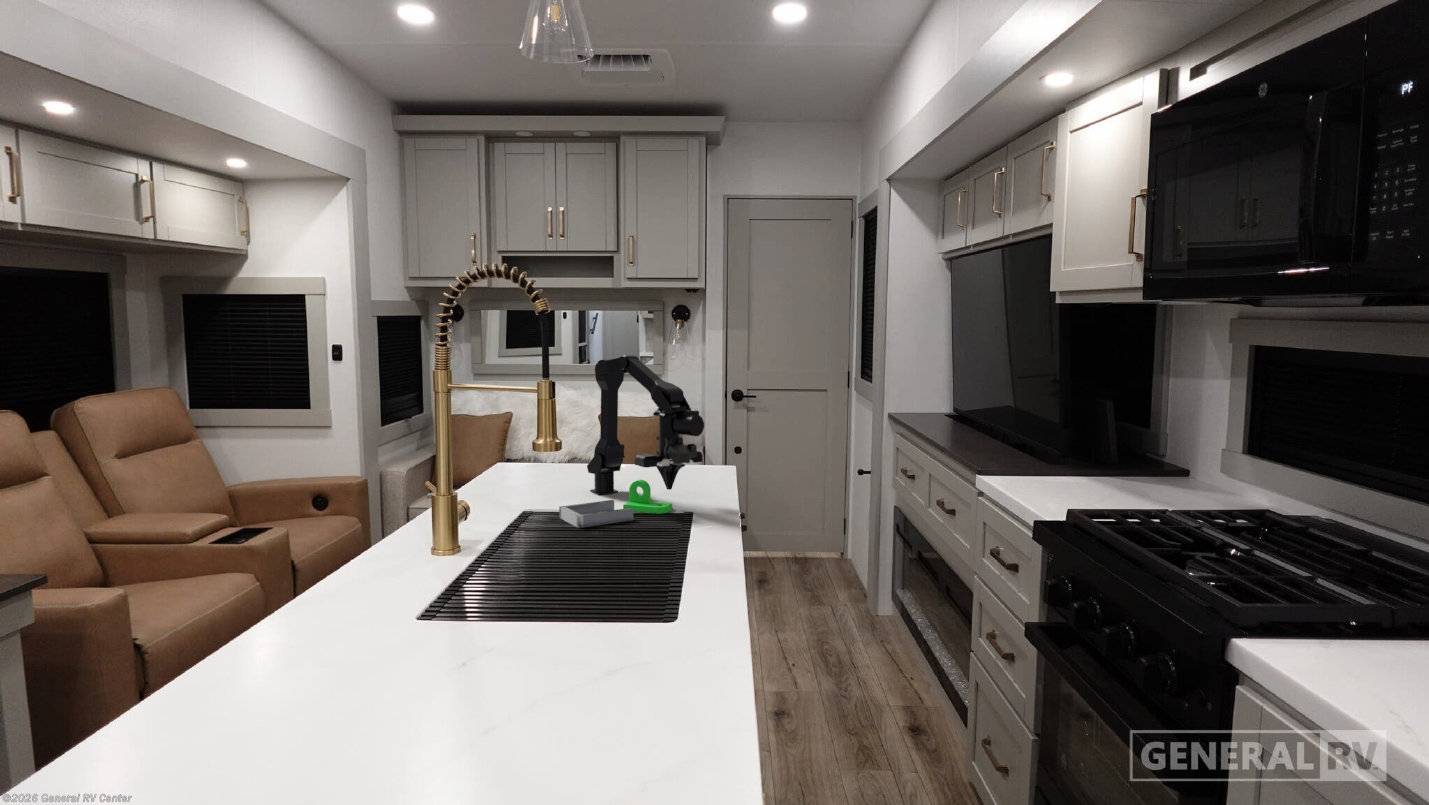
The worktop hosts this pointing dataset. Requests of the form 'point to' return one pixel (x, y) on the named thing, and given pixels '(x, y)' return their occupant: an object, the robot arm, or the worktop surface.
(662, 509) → the mechanical part
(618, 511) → the seating bracket
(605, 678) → the worktop surface
